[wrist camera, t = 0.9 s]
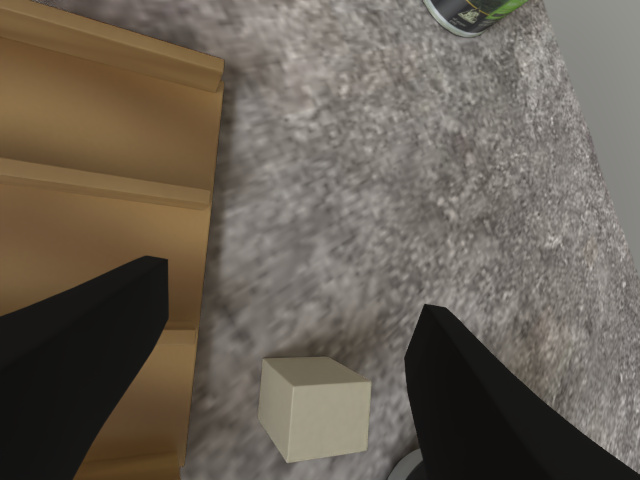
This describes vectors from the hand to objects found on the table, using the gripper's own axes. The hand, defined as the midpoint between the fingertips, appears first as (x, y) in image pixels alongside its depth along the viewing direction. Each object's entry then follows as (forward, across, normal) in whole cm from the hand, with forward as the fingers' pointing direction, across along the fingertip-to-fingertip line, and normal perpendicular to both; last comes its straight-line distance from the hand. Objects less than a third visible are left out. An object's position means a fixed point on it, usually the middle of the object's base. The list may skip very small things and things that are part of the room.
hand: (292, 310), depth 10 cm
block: (+10, -1, +14) cm, 18 cm away
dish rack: (+9, +13, +6) cm, 17 cm away
